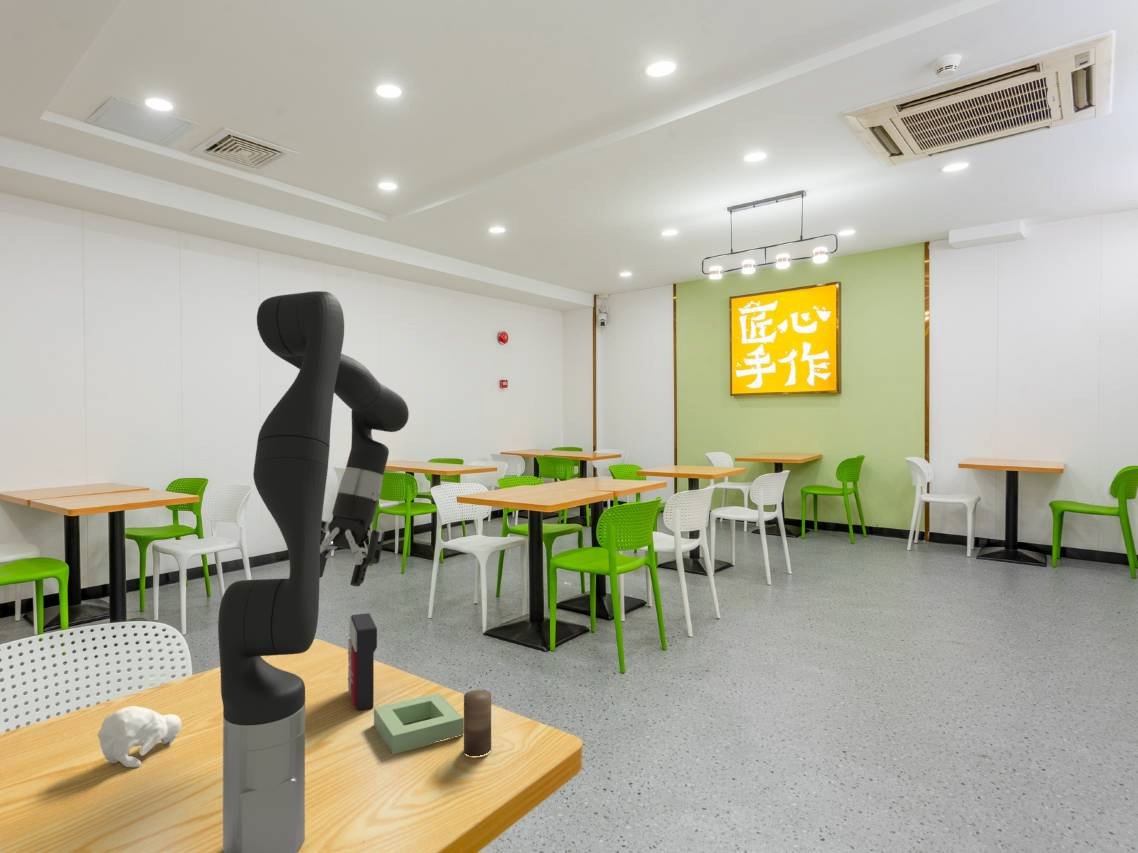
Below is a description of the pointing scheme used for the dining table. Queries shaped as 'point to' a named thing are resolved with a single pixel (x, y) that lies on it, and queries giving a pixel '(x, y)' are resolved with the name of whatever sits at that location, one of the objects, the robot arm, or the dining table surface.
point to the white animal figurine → (135, 733)
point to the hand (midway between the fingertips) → (335, 581)
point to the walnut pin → (477, 722)
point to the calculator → (361, 660)
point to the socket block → (420, 733)
